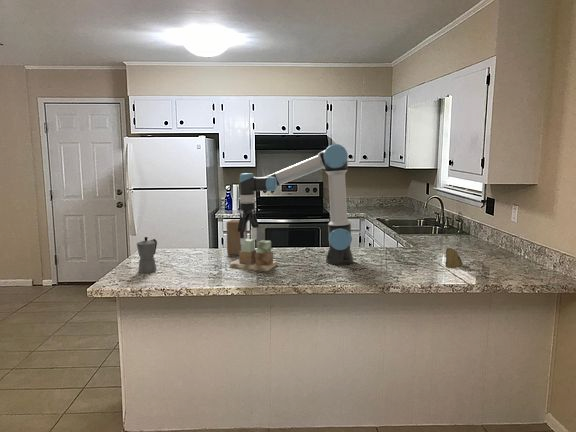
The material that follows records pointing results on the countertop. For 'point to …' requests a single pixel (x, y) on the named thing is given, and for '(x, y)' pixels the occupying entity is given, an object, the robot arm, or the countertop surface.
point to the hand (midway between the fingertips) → (248, 241)
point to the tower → (264, 253)
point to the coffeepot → (147, 255)
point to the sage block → (248, 246)
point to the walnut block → (247, 257)
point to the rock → (452, 258)
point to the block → (234, 237)
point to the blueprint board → (252, 265)
